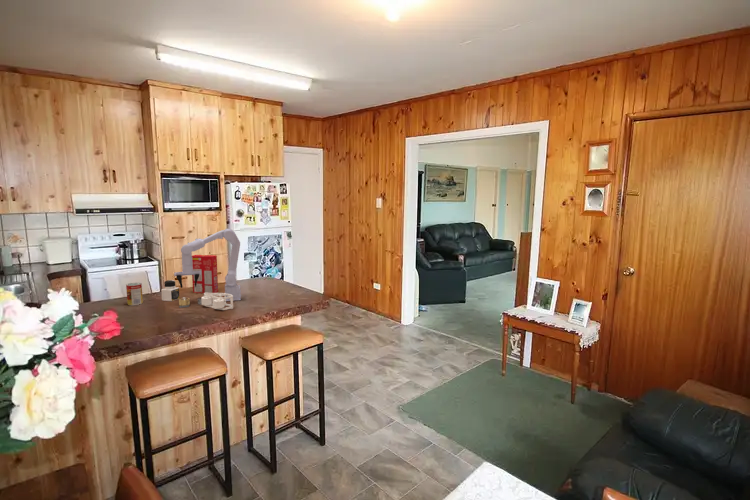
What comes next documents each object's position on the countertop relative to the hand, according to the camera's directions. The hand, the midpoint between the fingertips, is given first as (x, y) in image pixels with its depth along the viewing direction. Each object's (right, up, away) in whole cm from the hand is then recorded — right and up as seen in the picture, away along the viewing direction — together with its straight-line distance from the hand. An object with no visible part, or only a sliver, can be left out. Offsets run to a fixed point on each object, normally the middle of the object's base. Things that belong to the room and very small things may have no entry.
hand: (188, 287), depth 241 cm
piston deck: (0, -11, -5) cm, 12 cm away
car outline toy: (+19, -11, -6) cm, 23 cm away
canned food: (-31, -10, -2) cm, 33 cm away
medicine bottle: (-15, -9, +8) cm, 19 cm away
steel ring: (+8, -10, +1) cm, 13 cm away
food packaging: (-1, -6, +26) cm, 27 cm away
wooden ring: (0, -10, -5) cm, 11 cm away
